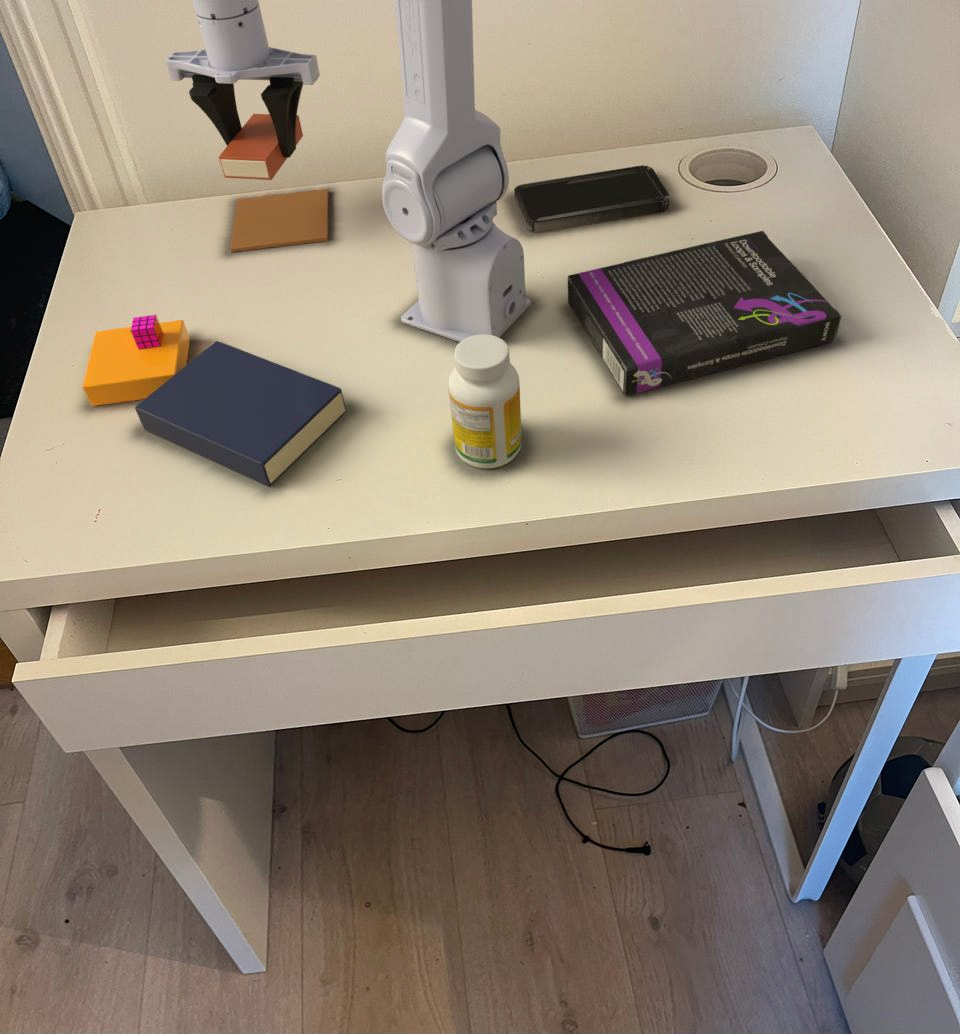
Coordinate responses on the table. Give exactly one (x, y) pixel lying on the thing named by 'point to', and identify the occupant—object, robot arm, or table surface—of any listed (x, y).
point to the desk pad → (280, 220)
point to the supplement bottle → (485, 402)
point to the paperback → (255, 150)
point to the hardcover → (242, 411)
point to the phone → (590, 198)
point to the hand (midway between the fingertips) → (263, 151)
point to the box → (699, 311)
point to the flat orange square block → (134, 360)
